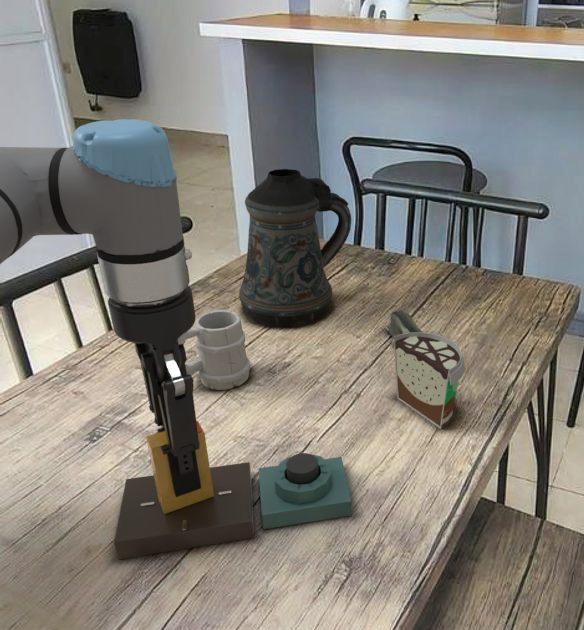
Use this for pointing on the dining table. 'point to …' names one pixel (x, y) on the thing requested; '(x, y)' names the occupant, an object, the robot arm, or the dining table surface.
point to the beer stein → (289, 250)
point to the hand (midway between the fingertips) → (183, 481)
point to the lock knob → (164, 475)
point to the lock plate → (185, 515)
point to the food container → (428, 374)
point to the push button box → (304, 495)
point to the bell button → (302, 468)
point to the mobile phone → (401, 324)
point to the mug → (219, 350)
